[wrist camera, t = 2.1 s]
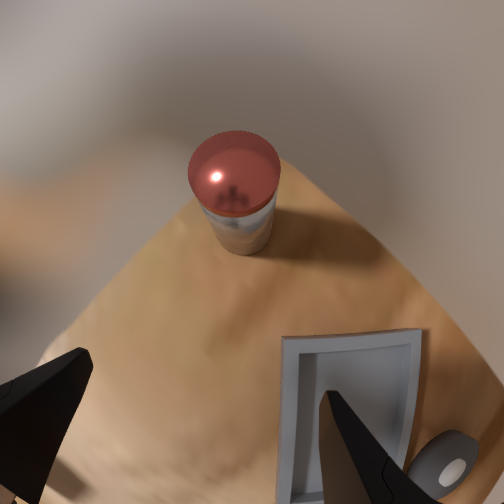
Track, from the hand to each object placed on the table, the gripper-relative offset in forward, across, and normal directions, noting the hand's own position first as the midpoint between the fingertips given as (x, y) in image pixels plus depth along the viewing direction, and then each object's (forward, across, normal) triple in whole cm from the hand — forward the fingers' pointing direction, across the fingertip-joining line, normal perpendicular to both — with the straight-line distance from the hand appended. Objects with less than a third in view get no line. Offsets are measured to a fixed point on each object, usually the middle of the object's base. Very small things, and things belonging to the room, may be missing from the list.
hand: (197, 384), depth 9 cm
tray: (+7, -10, +12) cm, 17 cm away
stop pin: (+15, 0, -1) cm, 15 cm away
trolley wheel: (+3, -23, +17) cm, 29 cm away
